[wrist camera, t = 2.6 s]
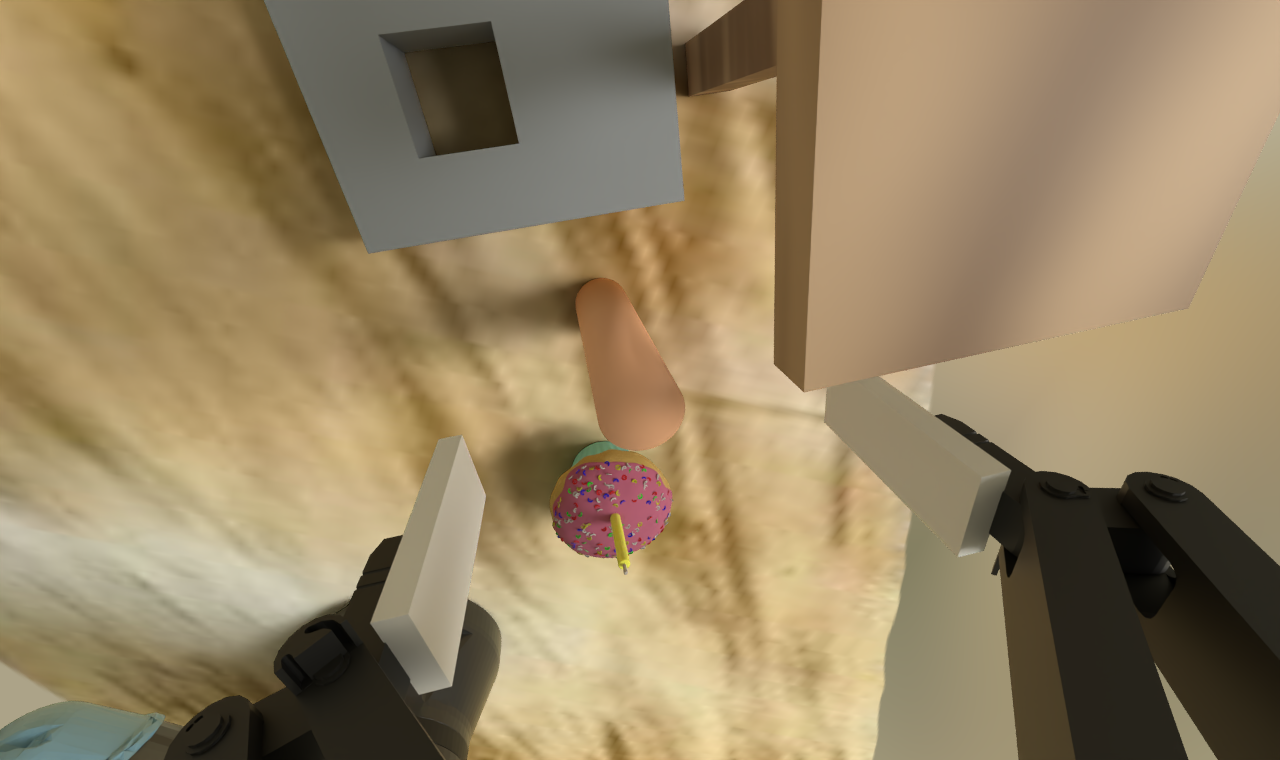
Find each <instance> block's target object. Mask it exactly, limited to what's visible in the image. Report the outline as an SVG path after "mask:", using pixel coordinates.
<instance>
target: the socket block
mask: <svg viewBox="0 0 1280 760" xmlns="http://www.w3.org/2000/svg"><path fill="white" fill-rule="evenodd" d="M264 2H265V5H266V7H267V10H268V12H269V14H270V17H271V19H272V22H273V24H274V27H275V29H276V31H277V34H278V36H279V39H280V41H281V43H282V46H283V48H284V51H285V53H286V56H287V58H288V60H289V63H290V65H291V68H292V70H293V72H294V75H295V77H296V80H297V82H298V85H299V87H300V89H301V92H302V94H303V97H304V99H305V102H306V104H307V106H308V109H309V111H310V114H311V116H312V118H313V121H314V123H315V126H316V128H317V131H318V133H319V135H320V138H321V140H322V143H323V145H324V148H325V150H326V152H327V155H328V157H329V160H330V162H331V164H332V167H333V169H334V172H335V174H336V177H337V179H338V181H339V184H340V186H341V189H342V191H343V194H344V196H345V198H346V201H347V203H348V206H349V208H350V210H351V213H352V215H353V218H354V220H355V223H356V225H357V227H358V230H359V232H360V235H361V237H362V239H363V242H364V244H365V247H366V249H367V252H368V254H369V253H375V252H381V251H387V250H393V249H399V248H405V247H411V246H417V245H422V244H428V243H434V242H440V241H446V240H452V239H458V238H464V237H470V236H476V235H482V234H488V233H494V232H500V231H506V230H512V229H518V228H524V227H530V226H536V225H542V224H548V223H554V222H560V221H566V220H572V219H578V218H584V217H590V216H595V215H601V214H607V213H613V212H619V211H625V210H631V209H637V208H643V207H649V206H655V205H661V204H667V203H673V202H679V201H684V190H683V178H682V165H681V153H680V140H679V128H678V115H677V103H676V90H675V78H674V65H673V53H672V40H671V28H670V15H669V3H668V0H264ZM494 41H496V45H497V50H498V54H499V58H500V63H501V67H502V71H503V76H504V80H505V84H506V89H507V93H508V97H509V102H510V106H511V110H512V115H513V119H514V124H515V128H516V132H517V137H518V141H519V144H513V145H506V146H499V147H493V148H486V149H479V150H472V151H466V152H459V153H452V154H445V155H439V156H436V153H435V150H434V147H433V144H432V141H431V137H430V134H429V131H428V128H427V124H426V121H425V118H424V115H423V112H422V108H421V105H420V102H419V99H418V96H417V92H416V89H415V86H414V83H413V79H412V76H411V73H410V70H409V67H408V63H407V60H406V57H405V54H404V53H406V52H414V51H422V50H430V49H438V48H446V47H454V46H462V45H470V44H478V43H486V42H494Z"/></svg>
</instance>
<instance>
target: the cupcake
mask: <svg viewBox="0 0 1280 760" xmlns="http://www.w3.org/2000/svg"><path fill="white" fill-rule="evenodd" d="M672 501H673V500H672V492H671V490H670V486H669V484H668V482H667V480H666V479H665V477H664V475H663V474H662V473H661V471H660V470H659V469H658V468H657V467H656V466H655V465H654V464H653V463H652V462H651V461H650V460H648V459H647V458H646V457H644V456H642V455H640V454H638V453H636V452H632V451H629V450H626V449H623V448H620V447H617V446H616V445H614V444H612V443H611V442H610V441H602V442H597V443H593V444H591V445H589V446H587V447H585V448H584V449H583V450H581V451H580V452H579V454H578V455H577V456H576V458H575V460H574V462H573V465H572V467H571V468H570V469H569V470H567V471H566V472H565V473H564V474H562V475H561V476H560V477H559V479H558V481H557V483H556V485H555V488H554V490H553V492H552V494H551V497H550V511H551V515H552V518H553V524H552V526H553V528H554V530H555V531H556V534H557V535H558V536H557V537H558V538H561V541H564V542H565V543H566V544H567V545H568V546H569V547H570V548H571V549H573V550H574V551H576V552H577V553H578V554H580V555H583V554H584V555H585V556H586V557H589V556H593V557H600V558H613V557H616V558H617V561H618V566H619V568H620V569H623V571H624V574H625V575H626V574H627V573H628V572H627V568H628V567H629V566H630V561H629V554H632V553H633V552H634V551H637V550H639V549H645V545H647V544H650V543H651V541H653V540H655V537H657V536H658V534H660V533H661V532H662V531H663V529H664V527H665V525H666V524H667V523H668V522H667V519H668V517H670V516H671V513H670V509H671V504H672ZM669 514H670V515H669ZM649 542H650V543H649Z"/></svg>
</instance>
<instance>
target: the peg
mask: <svg viewBox="0 0 1280 760" xmlns="http://www.w3.org/2000/svg"><path fill="white" fill-rule="evenodd" d="M575 306H576V312H577V317H578V322H579V327H580V332H581V337H582V342H583V347H584V352H585V357H586V362H587V367H588V373H589V378H590V383H591V388H592V393H593V398H594V403H595V408H596V413H597V418H598V423H599V427H600V429H601V431H602V433H603V435H604V436H605V437H606V438H607V440H608V441H610V442H611V443H612V444H614V445H616V446H617V447H620V448H623V449H626V450H633V451H640V450H647V449H651V448H654V447H657V446H659V445H661V444H663V443H664V442H666V441H667V440H669V439H670V438H671V437H672V436H673V435H674V434H675V433H676V432H677V430H678V429H679V427H680V425H681V424H682V421H683V418H684V415H685V402H684V398H683V395H682V393H681V391H680V390H679V388H678V386H677V384H676V383H675V381H674V379H673V377H672V375H671V374H670V372H669V370H668V368H667V366H666V365H665V363H664V361H663V359H662V358H661V356H660V354H659V352H658V350H657V349H656V347H655V345H654V343H653V341H652V340H651V338H650V336H649V334H648V333H647V331H646V329H645V327H644V325H643V324H642V322H641V320H640V318H639V316H638V315H637V313H636V311H635V309H634V307H633V306H632V304H631V302H630V300H629V299H628V297H627V295H626V293H625V291H624V290H623V288H622V287H621V286H620V285H619V284H618V283H616V282H615V281H613V280H610V279H606V278H597V279H593V280H591V281H589V282H587V283H586V284H585V285H583V286H582V288H581V289H580V290H579V292H578V294H577V297H576V302H575Z"/></svg>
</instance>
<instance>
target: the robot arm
mask: <svg viewBox="0 0 1280 760" xmlns="http://www.w3.org/2000/svg"><path fill="white" fill-rule="evenodd" d="M824 422H825V423H826V424H827V425H828V426H829V427H830V428H831V429H832V430H833V431H834V432H835V433H836V434H837V435H838V436H839V437H840V439H841V440H842V441H843V442H844V443H845V444H846V445H847V446H848V447H849V448H850V449H851V450H852V451H853V452H854V453H855V454H856V455H857V456H858V457H859V458H860V459H861V460H862V461H863V462H864V463H865V464H866V465H867V466H868V467H869V468H870V469H871V470H872V471H873V472H874V473H875V474H876V475H877V476H878V477H879V478H880V479H881V480H882V481H883V482H884V483H885V484H886V485H887V486H888V487H889V488H890V489H891V490H892V491H893V492H894V493H895V494H896V495H897V496H898V497H899V498H900V499H901V500H902V502H903V503H904V504H905V505H906V506H907V507H908V508H909V509H910V510H911V511H912V512H913V513H914V514H915V515H916V516H917V517H918V518H919V519H920V520H921V521H922V522H923V523H924V524H925V525H926V526H927V527H928V528H929V529H930V530H931V531H932V532H933V533H934V534H935V535H936V536H937V537H938V538H939V539H940V540H941V541H942V542H943V543H944V544H945V545H946V546H947V547H948V548H949V549H950V550H951V551H952V552H953V553H954V554H955V555H956V556H957V557H961V556H965V555H969V554H972V553H977V552H981V551H984V549H985V546H986V543H987V540H988V537H989V534H990V535H992V536H993V537H994V538H995V539H996V540H997V541H998V542H999V543H1001V547H1000V550H999V553H998V555H997V558H996V561H995V563H994V566H993V569H992V573H991V574H993V575H997V573H998V570H999V569H1000V576H1001V584H1002V585H1001V586H1002V596H1003V606H1004V616H1005V626H1006V636H1007V646H1008V656H1009V666H1010V677H1011V686H1012V697H1013V707H1014V716H1015V727H1016V737H1017V747H1018V757H1019V760H1188V757H1187V754H1186V752H1185V749H1184V746H1183V743H1182V740H1181V737H1180V734H1179V732H1178V729H1177V726H1176V723H1175V720H1174V717H1173V714H1172V712H1171V709H1170V706H1169V703H1168V700H1167V697H1166V694H1165V692H1164V689H1163V686H1162V683H1161V680H1160V677H1159V674H1158V672H1157V669H1156V666H1155V663H1156V665H1157V667H1158V668H1159V670H1160V671H1161V673H1162V674H1163V676H1164V677H1165V679H1166V680H1167V682H1168V683H1169V685H1170V687H1171V688H1172V690H1173V691H1174V693H1175V694H1176V696H1177V697H1178V699H1179V700H1180V702H1181V703H1182V705H1183V707H1184V708H1185V710H1186V711H1187V713H1188V714H1189V716H1190V717H1191V719H1192V721H1193V722H1194V724H1195V725H1196V726H1197V728H1198V730H1199V731H1200V733H1201V734H1202V736H1203V737H1204V739H1205V741H1206V742H1207V744H1208V745H1209V747H1210V748H1211V750H1212V751H1213V753H1214V755H1215V756H1216V758H1217V759H1218V760H1280V566H1279V565H1278V564H1277V563H1276V562H1275V561H1274V560H1273V559H1272V558H1271V557H1269V556H1268V555H1267V554H1266V553H1265V552H1264V551H1263V550H1262V549H1261V548H1260V547H1259V546H1258V545H1257V544H1256V543H1255V542H1254V541H1253V540H1251V538H1249V537H1248V536H1247V535H1246V534H1245V533H1244V532H1243V531H1242V530H1241V529H1240V528H1239V527H1238V526H1237V525H1236V524H1235V523H1234V522H1232V521H1231V520H1230V519H1229V518H1228V517H1227V516H1226V515H1225V514H1224V513H1223V512H1222V511H1221V510H1220V509H1219V508H1218V507H1217V506H1216V505H1215V504H1214V503H1213V502H1211V501H1210V500H1209V499H1208V498H1207V497H1206V496H1205V495H1204V494H1203V493H1202V492H1200V491H1199V490H1197V489H1196V488H1194V487H1193V486H1191V485H1190V484H1187V483H1185V482H1183V481H1181V480H1179V479H1177V478H1173V477H1169V476H1167V475H1163V474H1158V473H1151V472H1135V473H1132V474H1130V475H1128V476H1127V478H1126V480H1125V481H1124V484H1123V485H1122V488H1089V487H1088V486H1086V485H1085V484H1083V483H1082V482H1080V481H1078V480H1076V479H1074V478H1072V477H1070V476H1067V475H1063V474H1060V473H1056V472H1047V471H1039V472H1035V471H1033V470H1032V469H1030V468H1029V467H1027V466H1026V465H1024V464H1023V463H1022V462H1020V461H1019V460H1017V459H1016V458H1014V457H1013V456H1011V455H1010V454H1008V453H1007V452H1005V451H1004V450H1002V449H1001V448H1000V447H998V446H997V445H995V444H994V443H992V442H989V441H988V439H986V438H984V437H983V436H982V435H980V434H977V433H976V431H974V430H973V429H971V428H970V427H968V426H967V425H966V424H964V423H963V422H961V421H959V420H956V419H953V418H951V417H948V416H946V415H943V414H939V415H935V416H934V415H933V414H931V413H930V412H928V411H927V410H926V409H924V408H923V407H921V406H920V405H918V404H917V403H916V402H914V401H913V400H911V399H910V398H909V397H907V396H906V395H904V394H903V393H902V392H900V391H899V390H897V389H896V388H895V387H893V386H892V385H890V384H889V383H887V382H886V381H885V380H883V379H882V378H880V377H879V376H876V377H872V378H867V379H863V380H858V381H854V382H849V383H844V384H840V385H835V386H831V387H827V394H826V407H825V419H824ZM485 499H486V494H485V492H484V489H483V487H482V484H481V482H480V479H479V477H478V474H477V471H476V469H475V466H474V464H473V461H472V459H471V456H470V454H469V451H468V448H467V446H466V443H465V441H464V438H463V436H462V435H458V436H453V437H448V438H443V439H439V440H438V443H437V446H436V448H435V451H434V454H433V456H432V459H431V462H430V464H429V467H428V470H427V472H426V475H425V478H424V480H423V483H422V486H421V489H420V491H419V494H418V497H417V499H416V502H415V505H414V507H413V510H412V513H411V515H410V518H409V521H408V523H407V526H406V529H405V531H404V534H403V535H401V536H396V537H392V538H387V539H384V540H383V541H382V542H381V543H380V545H379V546H378V547H377V548H376V549H375V550H374V552H373V553H372V554H371V555H370V557H369V559H368V561H367V564H366V566H365V568H364V570H363V576H361V577H360V580H359V582H358V584H357V587H356V588H357V590H355V591H354V593H353V596H352V598H351V600H350V603H349V605H348V606H347V607H345V608H344V609H342V610H341V611H339V612H338V613H336V614H335V615H331V614H329V615H326V616H323V617H319V618H316V619H314V620H313V621H311V622H309V623H308V624H306V625H304V626H302V627H301V628H300V629H299V630H298V631H296V632H295V633H294V634H293V635H292V636H291V637H289V638H288V640H287V641H286V642H285V644H284V645H283V646H282V647H281V649H280V650H279V652H278V654H277V656H276V659H275V661H274V674H275V675H276V676H277V677H278V678H279V679H280V680H281V681H282V682H283V683H284V684H285V685H286V687H285V688H283V689H281V690H280V691H278V692H276V693H274V694H272V695H270V696H268V697H266V698H264V699H262V700H260V701H258V702H256V703H255V704H252V703H251V702H250V701H249V700H248V699H246V698H244V697H242V696H240V695H239V696H231V697H226V698H224V699H222V700H219V701H217V702H215V703H213V704H211V705H210V706H208V707H207V708H205V709H204V710H202V711H201V712H200V713H198V714H197V715H195V716H194V717H193V718H192V719H191V720H190V721H189V722H188V723H187V724H186V725H185V726H180V725H177V724H173V723H170V722H166V721H164V719H165V715H163V714H160V713H156V712H155V713H151V714H147V715H142V714H137V713H133V712H128V711H124V710H119V709H115V708H110V707H106V706H101V705H97V704H92V703H88V702H80V701H67V702H61V703H56V704H52V705H49V706H45V707H42V708H39V709H37V710H35V711H32V712H30V713H28V714H26V715H24V716H22V717H20V718H18V719H16V720H15V721H13V722H11V723H10V724H8V725H7V726H5V727H4V728H2V729H1V730H0V760H467V755H468V749H469V743H470V740H471V737H472V735H473V732H474V730H475V727H476V725H477V722H478V720H479V718H480V715H481V713H482V710H483V708H484V705H485V703H486V701H487V698H488V696H489V693H490V691H491V688H492V686H493V683H494V681H495V679H496V676H497V673H498V669H499V663H500V652H501V634H500V630H499V628H498V626H497V624H496V622H495V621H494V619H493V618H492V617H491V616H490V615H489V614H488V613H487V612H486V611H485V610H484V609H482V608H481V607H480V606H478V605H476V604H475V603H473V602H471V601H469V600H468V594H469V588H470V583H471V577H472V572H473V566H474V561H475V555H476V549H477V544H478V538H479V533H480V527H481V522H482V516H483V510H484V505H485ZM1170 564H1171V565H1172V567H1173V568H1174V570H1173V569H1172V568H1171V567H1170ZM1154 662H1155V663H1154Z"/></svg>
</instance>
